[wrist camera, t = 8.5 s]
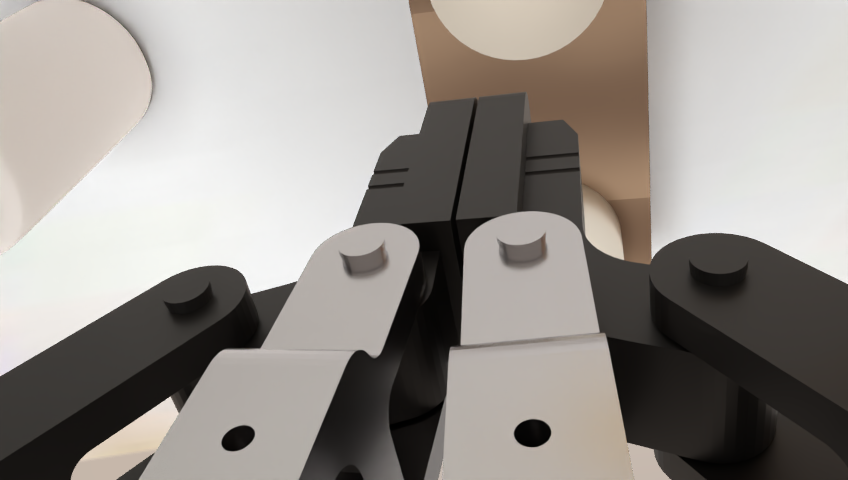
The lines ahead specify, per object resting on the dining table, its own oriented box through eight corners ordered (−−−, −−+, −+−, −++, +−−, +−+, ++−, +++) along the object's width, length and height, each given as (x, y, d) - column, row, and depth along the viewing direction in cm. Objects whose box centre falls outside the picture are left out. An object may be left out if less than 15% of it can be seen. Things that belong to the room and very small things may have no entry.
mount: (410, -239, 27) (367, -223, 21) (623, -281, 25) (640, -276, 19) (486, 248, 37) (471, 346, 32) (638, 238, 36) (653, 340, 30)
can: (173, 131, 36) (27, 290, 26) (45, 133, 37) (-139, 286, 28) (132, -10, 33) (-53, 113, 23) (-8, -4, 34) (-242, 117, 24)
